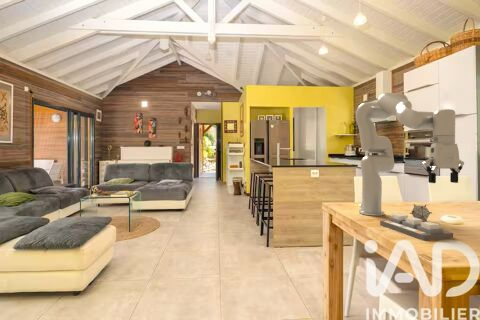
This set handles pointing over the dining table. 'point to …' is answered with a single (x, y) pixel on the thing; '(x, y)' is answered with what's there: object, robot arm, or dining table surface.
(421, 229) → the button board
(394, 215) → the button
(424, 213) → the game die
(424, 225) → the button
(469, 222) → the dining table surface
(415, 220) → the middle button
